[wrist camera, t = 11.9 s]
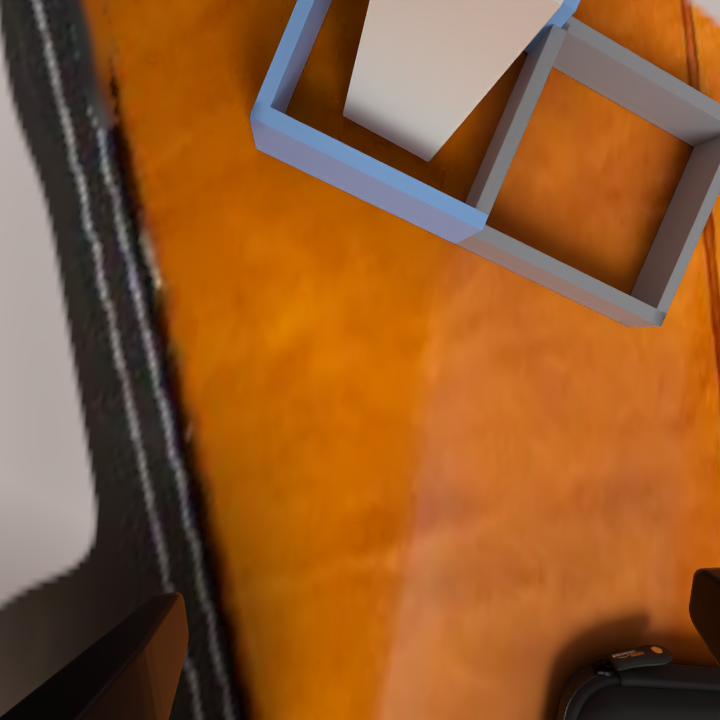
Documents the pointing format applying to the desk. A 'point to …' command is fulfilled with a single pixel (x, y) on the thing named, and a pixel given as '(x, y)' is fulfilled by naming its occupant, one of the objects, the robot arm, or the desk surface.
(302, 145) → the organizer
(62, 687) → the robot arm
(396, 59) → the white rectangular block
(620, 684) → the carrying case or bag
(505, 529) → the desk surface
